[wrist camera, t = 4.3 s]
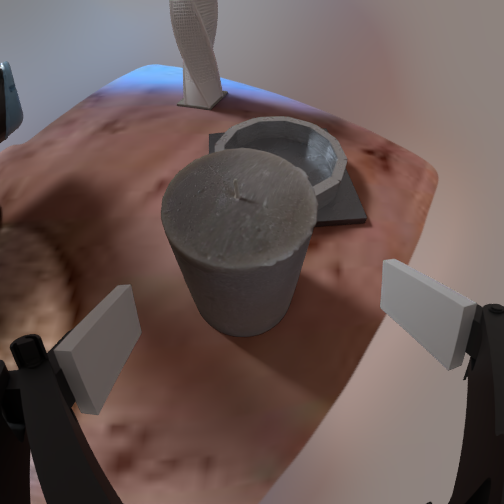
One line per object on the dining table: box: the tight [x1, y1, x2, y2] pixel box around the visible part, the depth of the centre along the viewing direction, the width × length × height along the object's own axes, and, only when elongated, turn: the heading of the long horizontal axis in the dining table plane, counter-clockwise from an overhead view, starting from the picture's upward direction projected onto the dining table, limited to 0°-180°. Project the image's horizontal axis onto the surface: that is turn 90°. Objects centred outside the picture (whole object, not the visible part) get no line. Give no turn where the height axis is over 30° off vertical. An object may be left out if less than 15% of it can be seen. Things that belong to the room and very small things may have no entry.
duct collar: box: [209, 116, 367, 227], centre depth 36 cm, size 18×18×4 cm
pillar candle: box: [161, 148, 319, 337], centre depth 23 cm, size 10×10×15 cm
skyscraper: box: [169, 0, 228, 110], centre depth 37 cm, size 8×8×28 cm
